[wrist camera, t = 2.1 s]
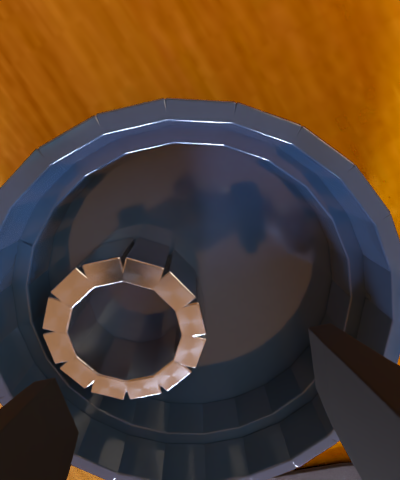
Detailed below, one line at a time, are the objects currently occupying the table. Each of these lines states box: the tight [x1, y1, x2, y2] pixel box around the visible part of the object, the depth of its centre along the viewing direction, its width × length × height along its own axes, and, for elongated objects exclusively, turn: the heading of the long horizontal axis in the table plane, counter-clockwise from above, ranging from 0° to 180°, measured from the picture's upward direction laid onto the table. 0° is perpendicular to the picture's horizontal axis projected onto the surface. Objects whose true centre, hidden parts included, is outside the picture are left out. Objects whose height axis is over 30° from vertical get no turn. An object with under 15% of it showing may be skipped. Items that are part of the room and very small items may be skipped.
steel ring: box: [42, 238, 207, 400], centre depth 13 cm, size 6×6×3 cm
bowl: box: [0, 98, 400, 480], centre depth 12 cm, size 15×15×4 cm
